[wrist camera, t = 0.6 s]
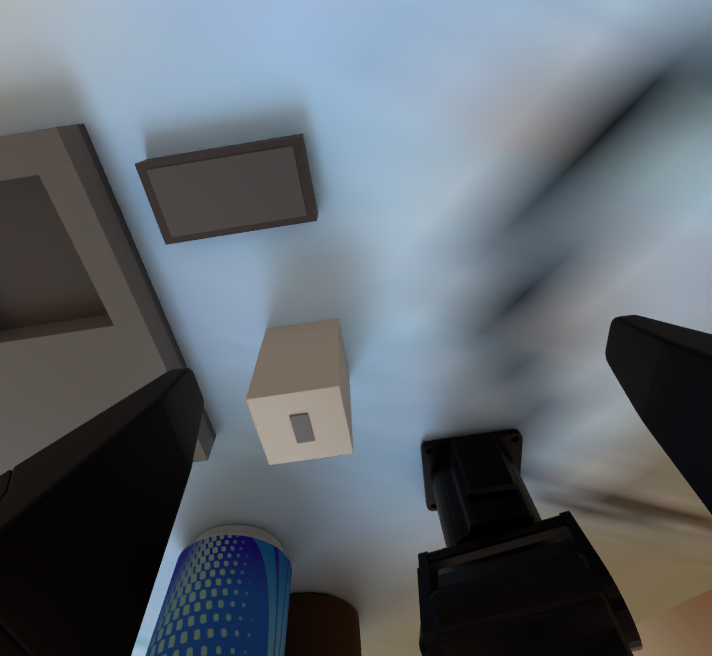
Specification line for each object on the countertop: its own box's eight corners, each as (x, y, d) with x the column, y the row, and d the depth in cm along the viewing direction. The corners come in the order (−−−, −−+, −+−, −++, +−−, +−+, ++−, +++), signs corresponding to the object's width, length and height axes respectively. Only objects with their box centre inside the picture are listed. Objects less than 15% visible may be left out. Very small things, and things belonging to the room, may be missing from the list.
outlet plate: (216, 435, 27) (207, 460, 25) (3, 465, 27) (-19, 491, 25) (83, 123, 18) (56, 127, 16) (-229, 176, 18) (-289, 186, 17)
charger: (349, 376, 25) (353, 454, 20) (282, 386, 25) (269, 466, 20) (338, 318, 23) (339, 387, 18) (265, 329, 23) (245, 400, 18)
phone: (318, 213, 20) (317, 221, 19) (174, 236, 20) (165, 244, 19) (302, 133, 18) (300, 136, 17) (145, 159, 19) (134, 164, 17)
